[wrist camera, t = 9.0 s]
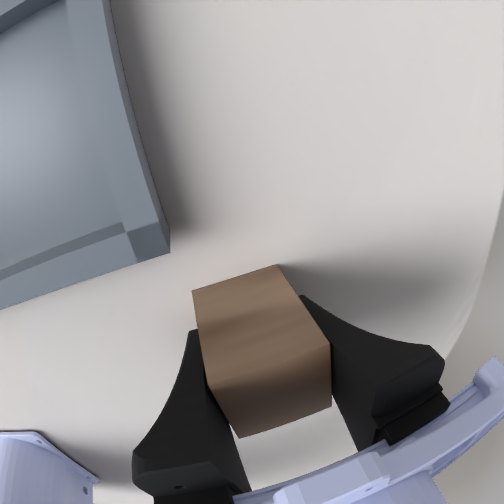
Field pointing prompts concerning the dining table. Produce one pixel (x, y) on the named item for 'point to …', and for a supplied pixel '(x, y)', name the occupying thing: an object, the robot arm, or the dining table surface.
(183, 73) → the dining table surface
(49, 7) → the parts tray
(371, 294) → the dining table surface
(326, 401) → the walnut block
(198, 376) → the robot arm
